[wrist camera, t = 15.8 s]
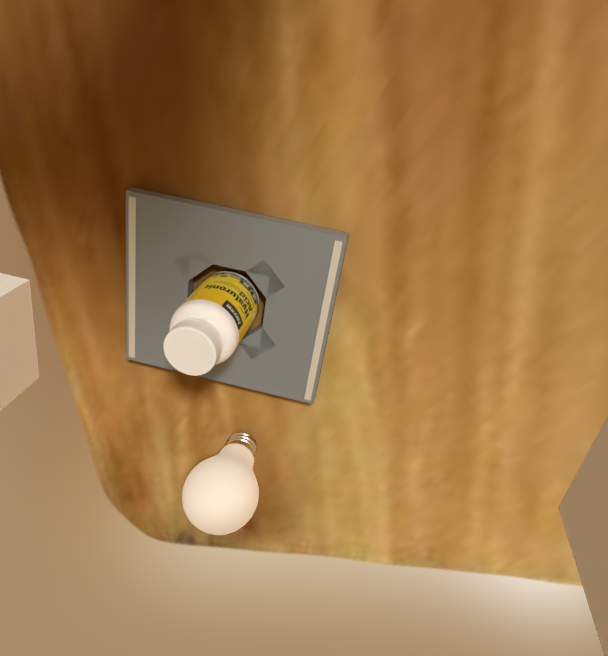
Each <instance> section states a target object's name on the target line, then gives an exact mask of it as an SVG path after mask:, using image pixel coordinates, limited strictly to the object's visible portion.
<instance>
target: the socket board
mask: <svg viewBox="0 0 608 656" xmlns="http://www.w3.org/2000/svg"><path fill="white" fill-rule="evenodd" d="M348 237H349V233H346V232H342V231H337V230H332V229H328V228H323V227H318V226H313V225H309V224H304V223H299V222H295V221H290V220H285V219H281V218H276V217H271V216H266V215H262V214H257V213H252V212H248V211H243V210H238V209H234V208H229V207H224V206H220V205H215V204H210V203H205V202H201V201H196V200H191V199H187V198H182V197H177V196H173V195H168V194H163V193H158V192H154V191H149V190H144V189H140V188H135V187H132V188H129V189H127V190H126V359H128V360H133V361H137V362H141V363H145V364H149V365H153V366H157V367H161V368H165V369H170V370H174V371H178V370H176V369H175V368H174V367H173V366H172V365H171V364H170V363H169V362H168V360H167V358H166V356H165V354H164V348H163V344H164V340H165V337H166V336H167V334H168V333H169V332H170V331H169V328H170V322H171V319H172V316H173V314H174V313H175V311H176V310H177V309H178V308H179V306H180V305H181V304H182V303H183V302H184V301H185V300H186V299H187V298H188V297H189V296H190V295H191V294H192V293H193V277H195V276H196V275H198V274H199V273H201V272H202V271H204V270H205V269H206V268H208V267H209V266H211V265H212V264H214V265H219V266H223V267H228V268H232V269H237V270H241V271H246V273H247V274H248V275H249V276H250V278H251V279H252V280H253V282H254V283H255V284H256V286H257V287H258V288H259V290H260V291H261V292H262V294H263V295H264V296H265V298H266V304H265V311H264V319H263V323H262V324H261V325H259V326H257V327H256V328H254V329H252V330H251V331H249V332H247V333H246V334H245V335H244V337H243V338H242V340H241V342H240V343H239V345H238V346H237V348H236V349H235V351H234V352H233V354H232V355H231V356H230V357H229V358H228V359H227V360H225V361H224V362H222V363H219V364H216V365H214V367H213V368H212V369H211V370H210V371H209V372H207V373H205V374H203V375H198V377H203V378H207V379H211V380H215V381H219V382H223V383H227V384H231V385H235V386H240V387H244V388H248V389H252V390H256V391H260V392H264V393H268V394H273V395H277V396H281V397H285V398H289V399H293V400H297V401H301V402H305V403H310V404H313V403H314V400H315V396H316V391H317V387H318V382H319V377H320V372H321V367H322V362H323V358H324V353H325V348H326V343H327V338H328V333H329V328H330V324H331V319H332V314H333V309H334V304H335V299H336V295H337V290H338V285H339V280H340V275H341V270H342V266H343V261H344V256H345V251H346V246H347V241H348ZM178 372H180V371H178Z"/></svg>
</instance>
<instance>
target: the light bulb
mask: <svg viewBox="0 0 608 656" xmlns="http://www.w3.org/2000/svg"><path fill="white" fill-rule="evenodd" d="M256 446H257V445H256V441H255V440H254V438H253V437H252V436H251V435H250V434H248V433H244V432H237V433H235V434H232V435H231V436H230V438H229V440H228V442H227V443H226V446H225V447H223V448H222V450H221V451H220V452H219V454H217V455H215V456H213V457H210V458H208V459H206V460H204V461H202V462H200V463H199V464H198V465H197V466H195V467H194V468H193V469H192V471H191V472H190V474H189V475H188V476H187V478H186V481H185V484H184V486H183V492H182V502H183V508H184V511H185V513H186V515H187V517H188V519H189V520H190V522H191V523H192V524H193V525H194V526H195V527H197V528H198V529H199V530H201V531H203V532H205V533H208V534H213V535H225V534H229V533H232V532H235V531H237V530H238V529H240V528H241V527H243V526H244V525H245V524H246V523H247V522H248V521H249V520H250V519H251V517H252V516H253V514H254V512H255V510H256V508H257V504H258V499H259V489H258V483H257V480H256V477H255V475H254V472H253V464H254V456H255V453H256V450H257V447H256Z"/></svg>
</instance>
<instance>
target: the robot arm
mask: <svg viewBox="0 0 608 656" xmlns="http://www.w3.org/2000/svg"><path fill="white" fill-rule="evenodd" d="M38 378H39V371H38V359H37V350H36V340H35V329H34V319H33V309H32V299H31V289H30V280H28V279H24V278H20V277H16V276H11V275H7V274H2V273H0V411H1V410H2V409H3V408H5V407H6V406H7V405H8V404H9V403H10V402H11V401H13V400H14V399H15V398H16V397H17V396H18V395H20V394H21V393H22V392H23V391H24V390H25V389H26V388H28V387H29V386H30V385H31V384H32V383H33V382H35V381H36V380H37V379H38ZM558 508H559V511H560V514H561V517H562V521H563V524H564V527H565V530H566V533H567V537H568V540H569V543H570V546H571V550H572V553H573V556H574V559H575V562H576V566H577V569H578V572H579V575H580V579H581V582H582V585H583V588H584V592H585V595H586V598H587V601H588V604H589V608H590V611H591V614H592V617H593V621H594V624H595V627H596V630H597V633H598V637H599V640H600V643H601V646H602V649H603V653H604V656H608V417H607V419H606V420H605V422H604V424H603V426H602V428H601V430H600V431H599V433H598V435H597V437H596V439H595V441H594V442H593V444H592V446H591V448H590V450H589V452H588V454H587V455H586V457H585V459H584V461H583V463H582V465H581V466H580V468H579V470H578V472H577V474H576V476H575V477H574V479H573V481H572V483H571V485H570V487H569V488H568V490H567V492H566V494H565V496H564V498H563V499H562V501H561V503H560V505H559V507H558Z"/></svg>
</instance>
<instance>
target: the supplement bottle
mask: <svg viewBox="0 0 608 656" xmlns="http://www.w3.org/2000/svg"><path fill="white" fill-rule="evenodd" d="M258 310H259V296H258V293H257V290H256V289H255V287H254V285H253V284H252V283H251V282H250V281H249V280H248V279H247V278H245V277H244V276H242V275H240V274H238V273H236V272H231V271H220V272H217V273H214V274H212V275H211V276H209V277H208V278H207V279H206V280H204V281H203V282H202V284H201V285H200V286H199V287H198V288H197V289H196V290H195V291H194V292H193V293H192V294H191V295H190V296H189V297H188V298H187V299H186V300H185V301H184V302H183V303H182V304H181V305H180V306H179V308H178V309H177V310H176V311H175V313H174V314H173V316H172V319H171V322H170V328H169V331H170V332H169V333H168V334H167V336H166V337H165V340H164V344H163V348H164V354H165V356H166V358H167V360H168V362H169V363H170V364H171V365H172V366H173V367H174V368H175V369H176V370H178V371H180V372H181V373H184V374H187V375H192V376H198V375H203V374H205V373H207V372H209V371H210V370H211V369H212V368H213V367H214V365H216V364H219V363H222V362H224V361H225V360H227V359H228V358H229V357H230V356H231V355H232V354H233V352H234V351H235V349H236V348H237V346H238V345H239V343H240V342H241V340H242V338H243V337H244V335H245V334H246V332H247V331H248V329H249V327H250V326H251V324H252V322H253V321H254V319H255V317H256V315H257V313H258Z"/></svg>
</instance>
